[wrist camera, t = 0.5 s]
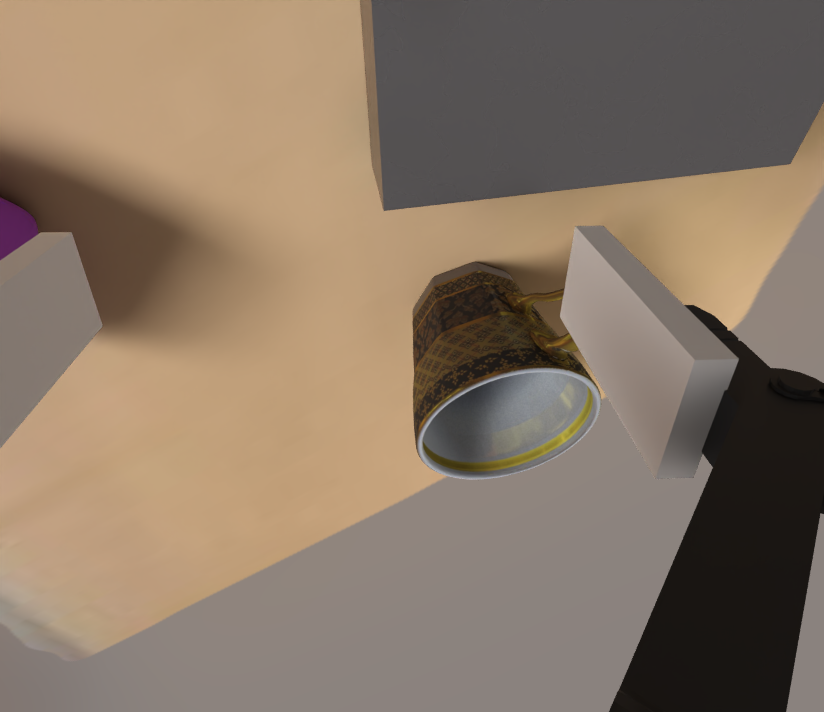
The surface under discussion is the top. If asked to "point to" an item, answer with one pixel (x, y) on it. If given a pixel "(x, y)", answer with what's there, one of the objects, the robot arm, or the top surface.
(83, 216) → the top surface
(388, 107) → the stand
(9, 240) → the toy camera
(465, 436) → the ceramic cup
